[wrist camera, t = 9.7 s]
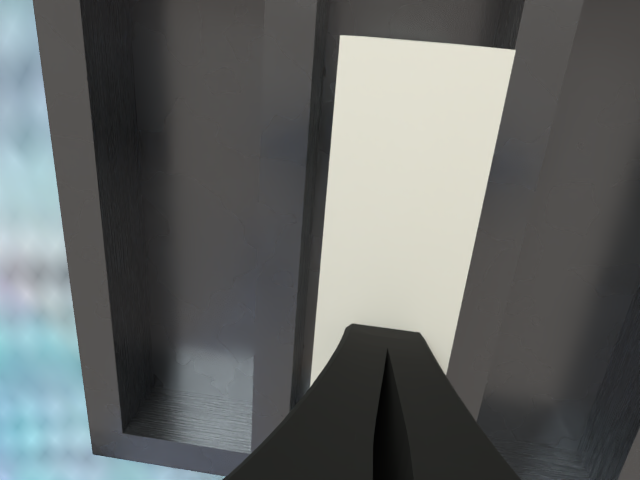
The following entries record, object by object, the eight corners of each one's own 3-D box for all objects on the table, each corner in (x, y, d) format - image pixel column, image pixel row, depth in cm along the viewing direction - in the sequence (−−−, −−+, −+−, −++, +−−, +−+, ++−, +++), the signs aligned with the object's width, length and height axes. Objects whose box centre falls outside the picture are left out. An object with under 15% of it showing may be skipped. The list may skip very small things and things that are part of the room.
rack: (621, 479, 19) (672, 576, 16) (109, 400, 21) (54, 471, 18) (864, -94, 12) (1058, -148, 9) (50, -139, 14) (-63, -199, 10)
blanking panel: (395, 397, 18) (398, 596, 12) (327, 387, 18) (293, 576, 12) (454, 43, 13) (515, 50, 7) (362, 36, 14) (340, 35, 7)
